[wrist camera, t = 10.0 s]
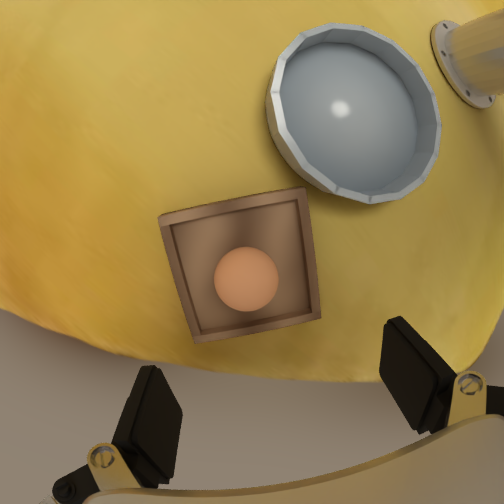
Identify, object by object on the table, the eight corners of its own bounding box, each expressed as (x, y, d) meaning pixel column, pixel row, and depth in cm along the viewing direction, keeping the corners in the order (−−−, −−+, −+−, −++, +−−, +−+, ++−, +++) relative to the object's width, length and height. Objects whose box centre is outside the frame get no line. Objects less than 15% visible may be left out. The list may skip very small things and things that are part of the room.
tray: (300, 186, 23) (305, 187, 21) (315, 309, 26) (321, 318, 25) (162, 214, 23) (157, 217, 21) (196, 333, 26) (194, 343, 24)
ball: (269, 234, 23) (277, 252, 18) (278, 288, 24) (287, 316, 20) (210, 246, 23) (203, 266, 18) (223, 299, 24) (220, 328, 20)
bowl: (396, 48, 19) (416, 36, 16) (424, 188, 24) (449, 192, 20) (249, 44, 19) (253, 23, 15) (283, 210, 23) (293, 217, 20)
